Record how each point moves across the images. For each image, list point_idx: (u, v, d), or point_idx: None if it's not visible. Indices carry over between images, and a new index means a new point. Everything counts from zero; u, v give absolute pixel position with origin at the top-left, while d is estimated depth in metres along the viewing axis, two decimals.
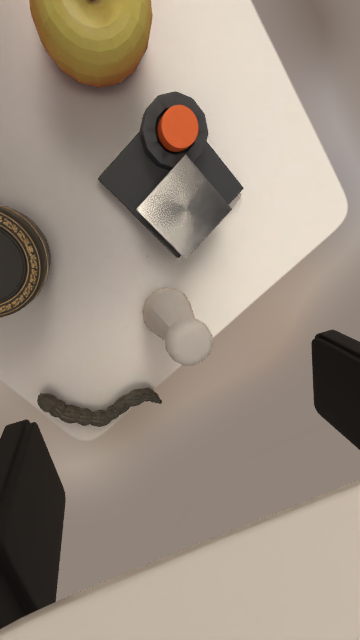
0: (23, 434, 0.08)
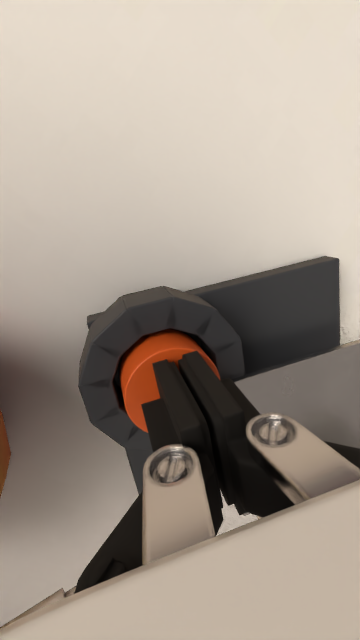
0: (172, 367, 0.10)
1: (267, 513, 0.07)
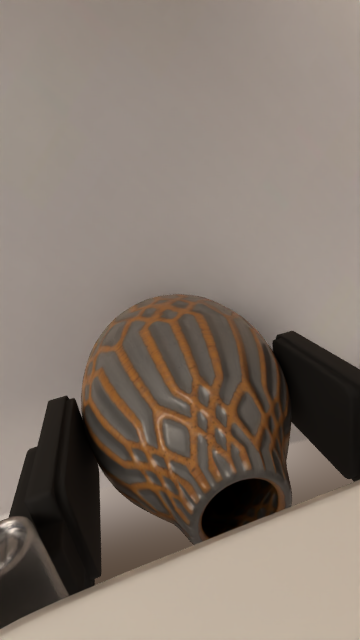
0: (66, 407, 0.09)
1: None
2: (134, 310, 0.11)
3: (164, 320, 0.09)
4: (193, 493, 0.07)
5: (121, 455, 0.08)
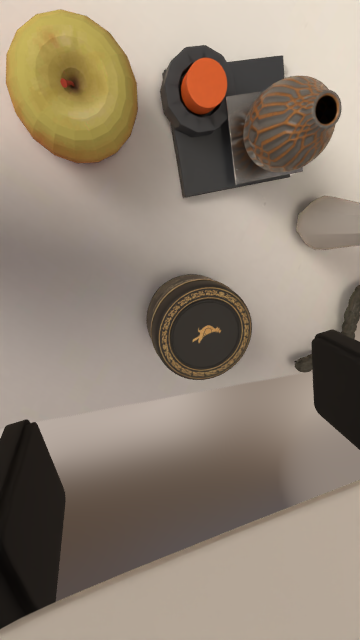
0: (23, 434, 0.08)
1: None
2: (272, 85, 0.27)
3: None
4: (313, 98, 0.23)
5: (282, 110, 0.24)
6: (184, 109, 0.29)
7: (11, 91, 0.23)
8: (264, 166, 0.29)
